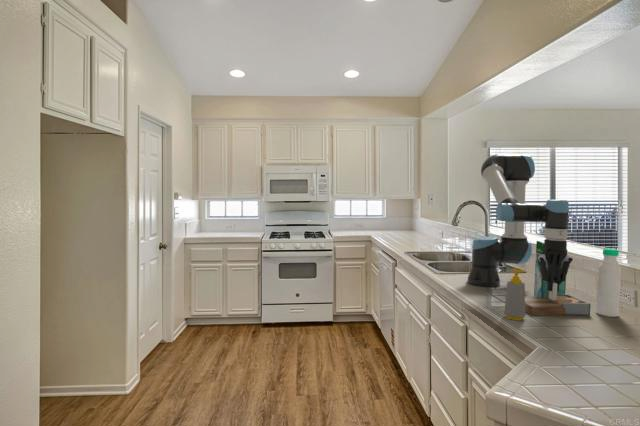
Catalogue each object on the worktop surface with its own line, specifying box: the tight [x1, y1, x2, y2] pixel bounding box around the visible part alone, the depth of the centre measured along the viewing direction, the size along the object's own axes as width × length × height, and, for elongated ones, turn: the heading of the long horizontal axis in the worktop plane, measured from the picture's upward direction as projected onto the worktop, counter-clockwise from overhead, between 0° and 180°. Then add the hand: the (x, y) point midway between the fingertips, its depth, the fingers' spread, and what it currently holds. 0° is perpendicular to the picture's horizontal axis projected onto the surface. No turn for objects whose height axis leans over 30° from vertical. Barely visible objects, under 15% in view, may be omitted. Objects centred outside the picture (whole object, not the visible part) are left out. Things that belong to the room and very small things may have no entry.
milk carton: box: [533, 240, 568, 297], centre depth 165 cm, size 9×9×25 cm
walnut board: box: [525, 296, 566, 317], centre depth 152 cm, size 15×12×3 cm
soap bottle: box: [503, 268, 527, 321], centre depth 141 cm, size 7×7×18 cm
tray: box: [544, 293, 592, 316], centre depth 152 cm, size 13×10×4 cm
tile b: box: [561, 297, 581, 307], centre depth 152 cm, size 5×5×2 cm
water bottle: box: [595, 248, 622, 318], centre depth 146 cm, size 7×7×25 cm
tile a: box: [551, 296, 572, 305], centre depth 152 cm, size 5×5×2 cm
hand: (552, 299), depth 152 cm, fingers closed
